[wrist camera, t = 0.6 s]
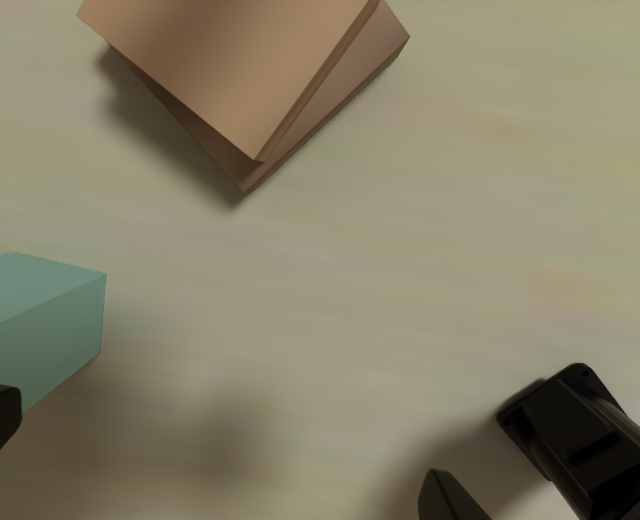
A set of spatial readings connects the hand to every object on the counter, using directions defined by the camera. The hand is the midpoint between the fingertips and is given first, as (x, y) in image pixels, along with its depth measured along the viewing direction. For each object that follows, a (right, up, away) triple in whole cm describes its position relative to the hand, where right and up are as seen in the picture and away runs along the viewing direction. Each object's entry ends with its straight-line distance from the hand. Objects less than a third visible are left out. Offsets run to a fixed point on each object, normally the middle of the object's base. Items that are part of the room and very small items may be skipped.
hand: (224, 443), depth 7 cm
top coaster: (-1, +14, +7) cm, 16 cm away
